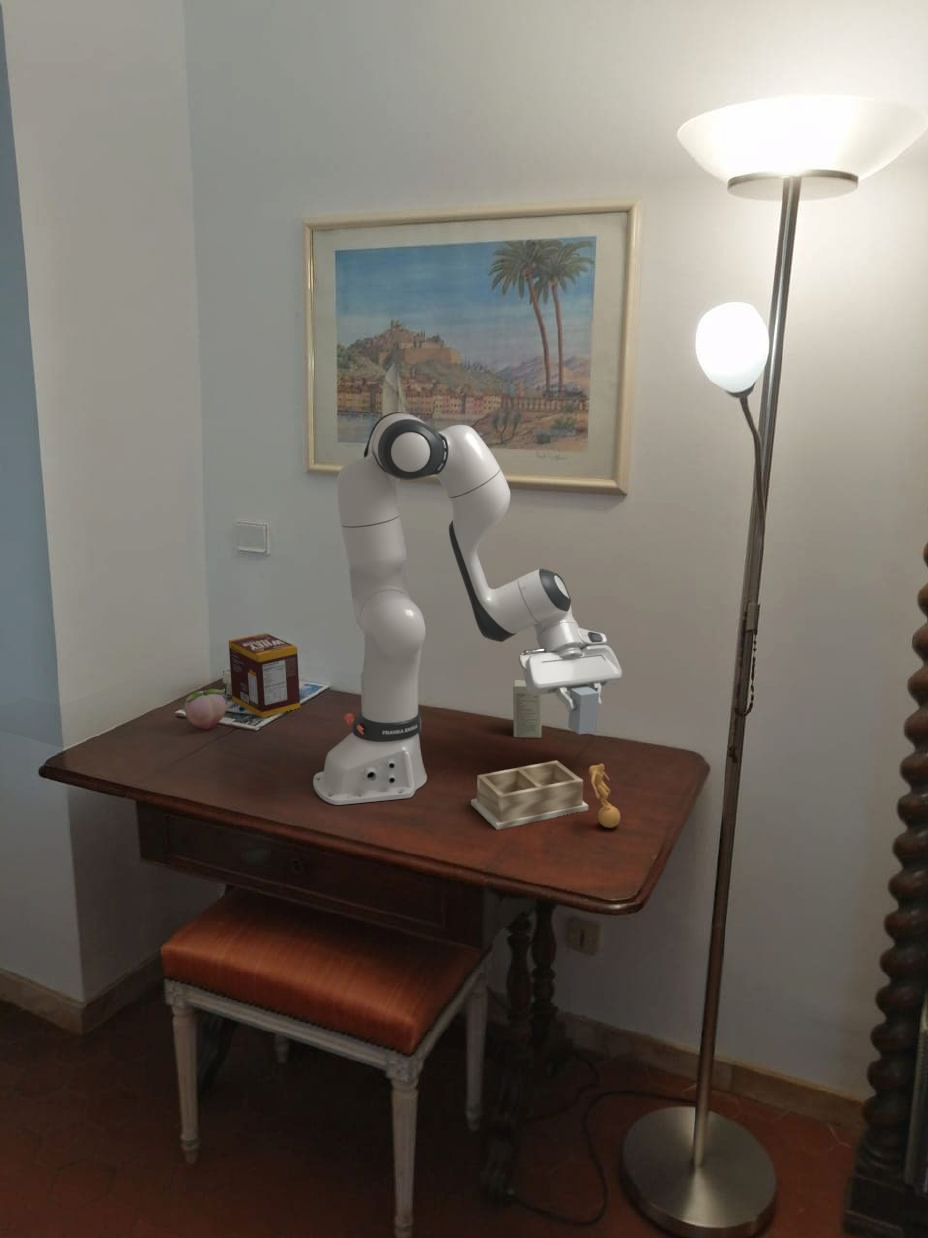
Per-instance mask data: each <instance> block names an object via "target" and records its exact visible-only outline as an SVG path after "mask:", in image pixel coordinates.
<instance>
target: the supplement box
mask: <svg viewBox="0 0 928 1238" xmlns="http://www.w3.org/2000/svg"><path fill="white" fill-rule="evenodd" d="M228 653H229V669H230V671H229V672H230V684H231V699H232V702H233V703H235V704H237V705H239V706H240V707H241V708H243V709H246V710H247V711H249V712H250V713H253V714H254V715H256V716H258V717H259V718H261V719H266V718H269V717H272V716H271V715H273V716H276V715H275V714H277V715H279V714H278V713H281V714H283V713H282V712H284V713H287V712H286V711H288V712H290V710H292V711H296V710H299V709H301V698H300V696H301V694H300V676H299V656H298V647H297V646H296V645H293V644H291V643H289V642H287V641H284V640H283V639H280V638H279V637H275V636H273V635H271V634H269V633H267V632H265V633H259V634H255V635H249V636H244V637H239V638H235V639H233V638H232V639H229V640H228ZM298 708H299V709H298ZM295 709H296V710H295ZM268 716H269V717H268Z"/></svg>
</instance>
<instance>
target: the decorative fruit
mask: <svg viewBox="0 0 928 1238" xmlns="http://www.w3.org/2000/svg"><path fill="white" fill-rule="evenodd" d="M221 694H226V692H224V691H223V690H222V689H217V688H210V689H207V690H205V687H202V690H201V691H196V692H194V693H192V694H190V695H188V697H187V698H186V699H185V700H184V713H185V716H186V718H187V720H188V721H189V723H191V725H192V726H194V727H196V728H199V729H203V730H209V729H211V728H213V727H214V726H216V725H217V724H219V722H220V721H221V720H222V719H223V718H224V717H225V714H226V712H227V709H228V708H227V701H226V699H225V697H223V695H221Z"/></svg>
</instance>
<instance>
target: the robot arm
mask: <svg viewBox="0 0 928 1238" xmlns="http://www.w3.org/2000/svg"><path fill="white" fill-rule="evenodd" d="M368 437H369V438H368V440H367V444H366V446H365V449H364V452H363V457H362V458H359V459H355V460H353V461H350V462H348V463H347V464H345V465H344V466H343V467H341V469H339V472H338V474H337V480H336V485H337V487H336V488H337V490H336V491H337V507H338V508H337V509H338V513H339V514H338V516H339V520H340V521H339V522H340V527H341V531H342V532H341V533H342V537H343V544H344V548H345V553H346V559H347V564H348V572H349V581H350V592H351V599H352V600H351V601H352V606H353V607H352V608H353V613H354V618H355V621H356V623H357V625H358V626H359V628H360V630H362V634H363V637H364V638H363V639H364V657H363V667H362V671H361V675H360V683H361V684H360V688H361V690H360V691H361V692H360V693H361V696H360V698H361V711H360V713H359V714H358V715H357V716H355V715H354V714H353V713H352V712H348V713H346V714H345V716H344V721H345V723H347V724H348V725H349V726H352V732H351V733H350V734H348V735H347V736H346V737H345V738H344V739H342V740H341V741H340V742H339V743H338V744H336V746H334V747H333V748H331V749H330V750H329V751H328V753H327V755H326V758H325V760H324V768H323V771H320V772H317V773H315V775H314V776H313V778H312V779H313V780H312V786H313V789H314V791H315V792H316V794H317V795H318V797H320V798H321V799H322V800H323V801H325V802H327V803H329V804H332V805H335V806H342V805H350V804H351V805H352V804H361V803H363V804H364V803H371V802H381V801H390V800H392V801H393V800H401V799H410V798H412V797H413V796H414V794H415V793H416V791H417V790H419V788H421V787H422V786H424V785H425V784H426V782H427V780H428V775H427V773H426V769H425V766H424V762H423V757H422V750H421V743H420V739H421V736H422V735H421V734H422V733H421V731H422V720H421V711H420V710H419V670H420V663H421V658H422V651H423V645H424V641H425V639H426V633H427V632H426V630H427V629H426V623H425V618H424V615H423V613H422V611H421V609H420V608H419V607H418V605H417V604H416V603H414V602H413V600H412V597H411V596H410V593H409V589H408V583H407V582H408V580H407V557H408V555H407V548H406V543H405V537H404V530H403V525H402V520H401V514H400V509H399V504H398V503H399V502H398V498H397V497H398V496H397V492H398V486H399V483H400V481H401V480H404V481H412V480H414V481H415V480H419V479H422V478H427V477H430V476H435V477H436V478H437V480H438V481H439V482H440V483H441V486H442V488H443V489H444V491H445V493H446V495H447V498H449V501H450V503H451V507H452V513H453V517H452V518H453V519H452V520H451V521H450V523H449V525H448V535H449V540H450V544H451V547H452V548H451V549H452V550H453V554H454V557H455V560H456V563H457V567H458V570H459V572H460V575H461V579H462V580H463V584H464V586H465V589H466V592H467V595H468V598H469V601H470V604H471V607H472V613H473V617H474V623H475V624H476V627H477V629H478V631H479V632H480V634H481V635H482V636H483V637H484V638H486V639H488V640H491V641H495V642H499V643H503V642H504V641H507V640H508V639H510V638H512V637H513V636H516V635H517V634H518V633H521V632H522V631H525V630H527V629H528V628H531V627H533V629H534V630H535V634H536V635H535V636H536V637H535V638H536V641H537V644H538V647H539V648H535V649H525V650H523V651H522V652H521V653H520V655H519V656H518V662H519V664H520V668H521V669H522V670H523V680H525V683H526V687H527V690H528V692H529V693H530V694H531V695H533V696H536V695H542V696H543V695H544V696H545V695H550V694H555V695H556V697H557V699H558V700H559V701H560V702H562V703H563V704H564V705H565V707H566V710H567V712H568V713H569V712H571V711H576V709H577V708H578V706H577V704H576V700H572V699H571V698H570V695H568V694H567V692H570V689H573V688H580V687H587V686H588V687H590V688H592V689H593V690H595V691H597V692H598V693H599V702H598V708H600V707H601V706H602V705H603V703H602V700H601V697H600V696H601V691H602V688H603V687H607V686H615V685H616V684H617V683H618V682H619V681H620V680H621V678H622V676H623V670H622V667H621V665H620V663H619V660H618V659H617V656H616V654H615V652H614V650H613V649H612V648H611V647H610V646H608V645H606V644H607V642H608V639H607V636H606V635H605V634H604V633H602V632H597V631H592V630H589V629H584V628H581V627H580V626H579V624H578V622H577V621H576V619H575V618H574V615H573V609H572V604H571V603H572V599H571V596H570V594H569V591H568V588H567V586H566V583H565V582H564V579H563V578H562V577H561V576H560V575H559V574H558V573H556V572H554V571H552V570H548V569H545V568H540V569H536V570H533V571H531V572H529V573H527V574H524V575H522V576H519V577H518V578H517V579H514V580H512V581H510V582H508V583H506V584H503V585H501V586H499V587H497V588H495V589H494V588H490V587H489V585H488V582H487V580H486V576H485V573H484V570H483V568H482V564H481V561H480V558H479V555H478V550H479V547H480V546H481V543H482V542H483V541H484V539H486V537H487V536H488V535H489V534H490V533H491V532H492V531H493V530H494V529H495V528H496V527H497V526H498V525H499V523H500V522H501V521H502V519H503V518H504V516H505V514H506V513H507V511H508V509H509V507H510V503H511V491H510V490H511V489H510V487H509V483H508V482H507V479H506V477H505V474H504V473H503V471H502V469H501V466H500V465H499V463H498V461H497V460H496V458H495V456H494V454H493V453H492V450H490V449H489V447H488V446H487V444H486V443H485V441H484V440H483V439H482V437H481V436H480V435H479V434H478V432H476V430H475V429H474V428H473V427H471V426H469V425H466V424H455V425H451V426H448V427H446V428H443V430H439V431H437V430H436V429H434V428H432V426H431V427H430V426H429V425H427V424H426V423H425V422H424V421H423V420H421V419H420V418H419V417H417V416H415V415H412V414H409V413H406V412H401V411H396V412H390V413H387V414H385V415H383V416H382V417H380V418H379V419H378V420H377V422H376V423H375V424H374V426H373V427H372V429H371V432H370V434H369V436H368Z"/></svg>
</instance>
